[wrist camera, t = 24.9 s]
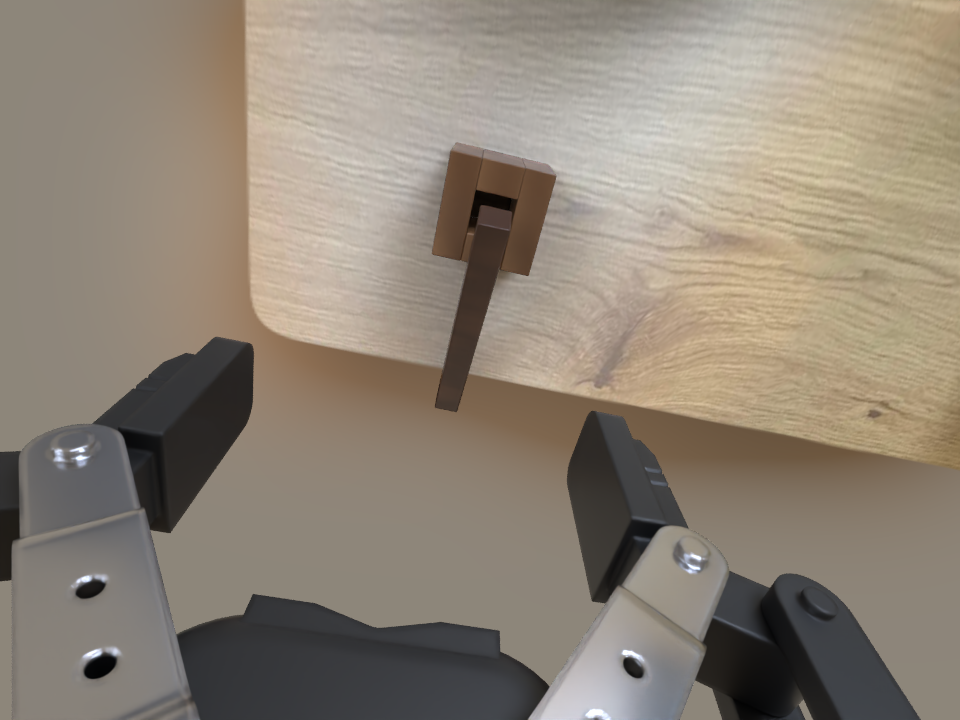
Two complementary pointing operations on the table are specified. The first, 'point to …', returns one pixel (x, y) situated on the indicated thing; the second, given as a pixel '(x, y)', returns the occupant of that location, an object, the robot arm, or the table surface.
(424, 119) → the table surface
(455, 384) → the stirring stick
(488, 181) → the stick stand
